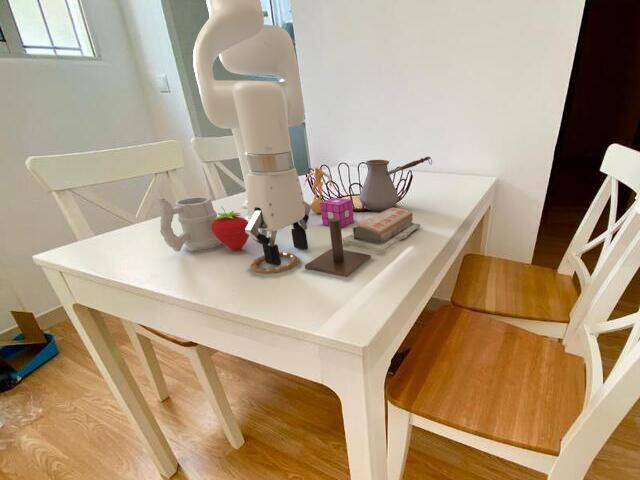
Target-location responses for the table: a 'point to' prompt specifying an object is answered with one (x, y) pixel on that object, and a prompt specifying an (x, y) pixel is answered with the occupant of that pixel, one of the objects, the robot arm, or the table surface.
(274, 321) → the table surface
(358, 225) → the packaged product
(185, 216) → the mug
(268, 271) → the ring
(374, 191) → the coffee pot
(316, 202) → the figurine
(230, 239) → the strawberry
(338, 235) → the brown peg stand
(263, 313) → the table surface
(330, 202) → the puzzle toy
